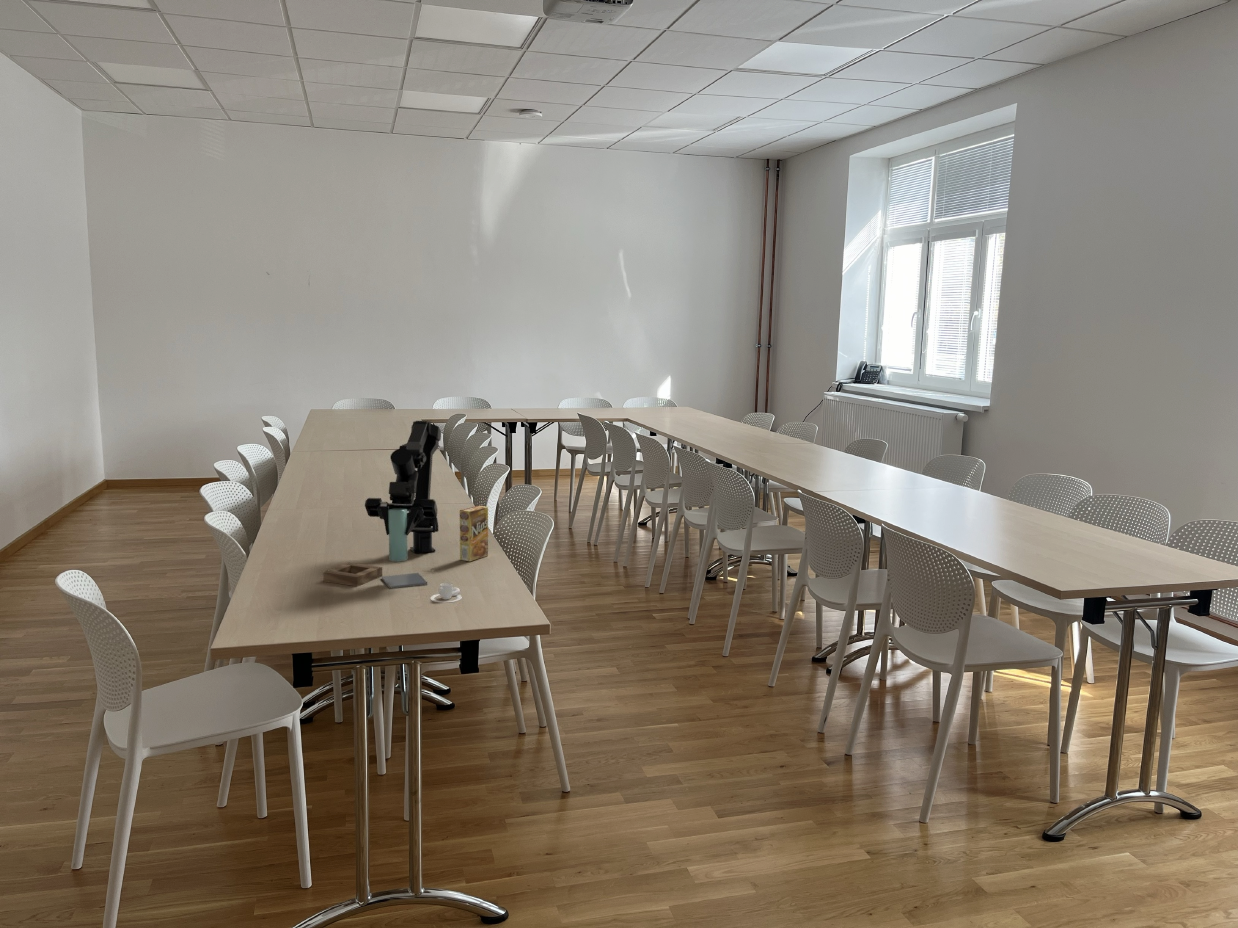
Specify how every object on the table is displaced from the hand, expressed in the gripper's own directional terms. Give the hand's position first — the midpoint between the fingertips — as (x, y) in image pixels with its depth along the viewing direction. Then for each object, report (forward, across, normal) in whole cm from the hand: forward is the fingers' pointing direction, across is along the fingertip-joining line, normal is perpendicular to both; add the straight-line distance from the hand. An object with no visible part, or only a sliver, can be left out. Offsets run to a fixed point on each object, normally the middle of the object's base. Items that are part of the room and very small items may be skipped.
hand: (396, 534), depth 232 cm
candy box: (-10, +17, +29) cm, 35 cm away
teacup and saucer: (+18, +18, +1) cm, 26 cm away
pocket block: (+7, -13, +12) cm, 19 cm away
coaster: (+8, +2, +10) cm, 14 cm away
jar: (+4, 0, +6) cm, 7 cm away
